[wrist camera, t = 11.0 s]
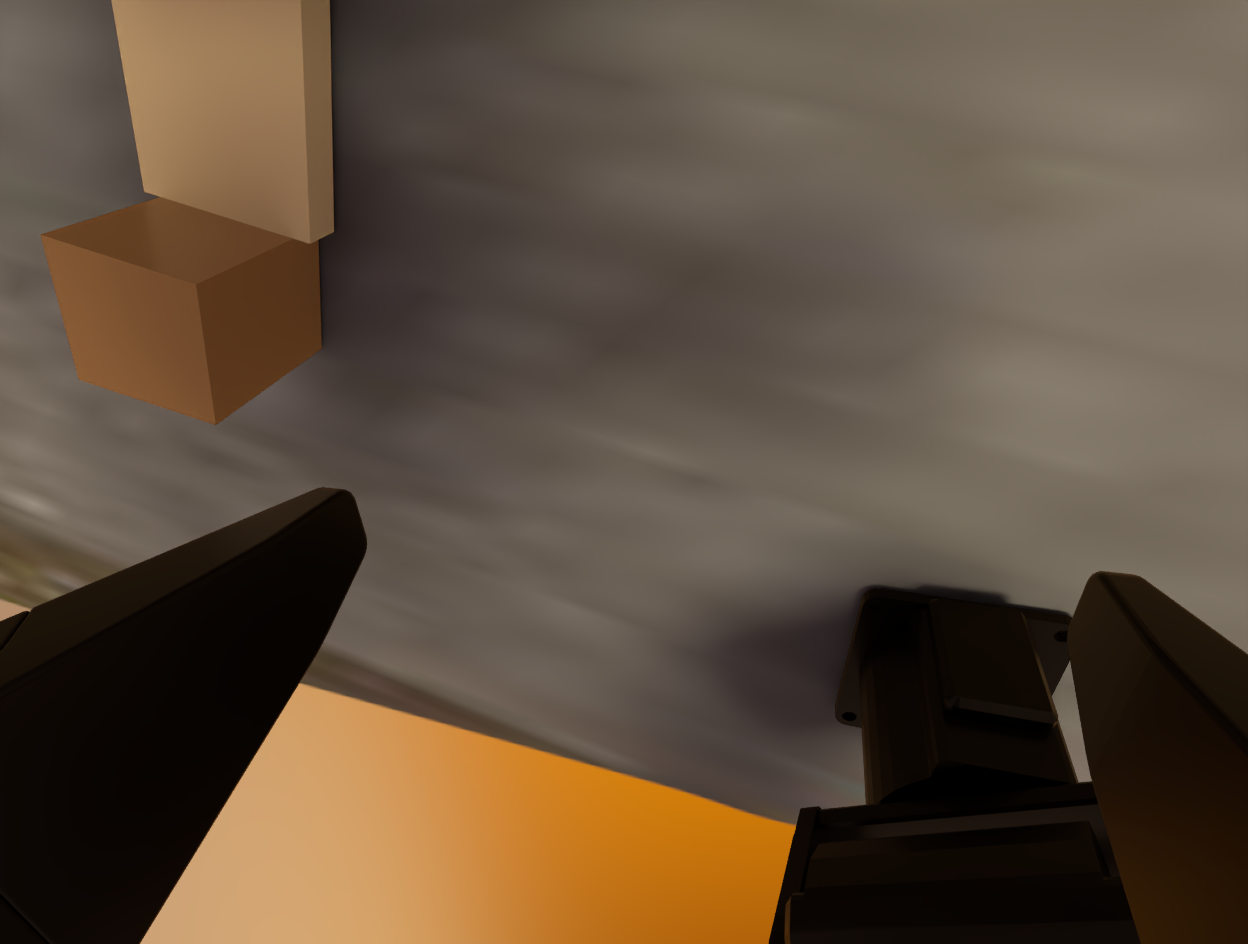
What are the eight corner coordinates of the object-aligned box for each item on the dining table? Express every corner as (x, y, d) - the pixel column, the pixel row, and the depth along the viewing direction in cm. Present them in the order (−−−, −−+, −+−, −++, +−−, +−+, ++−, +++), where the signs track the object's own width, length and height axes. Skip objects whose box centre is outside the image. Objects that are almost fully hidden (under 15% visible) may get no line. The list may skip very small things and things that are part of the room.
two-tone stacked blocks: (336, 353, 23) (233, 430, 19) (193, 307, 23) (61, 373, 19) (322, -422, 13) (105, -601, 9) (78, -486, 14) (-235, -686, 10)
